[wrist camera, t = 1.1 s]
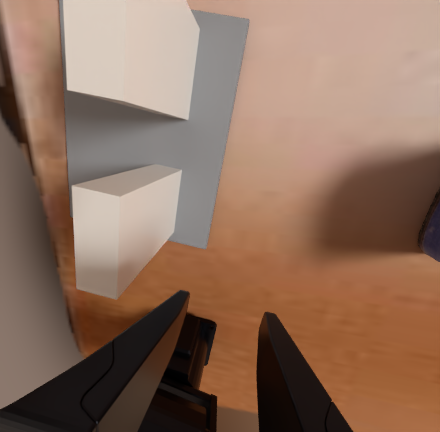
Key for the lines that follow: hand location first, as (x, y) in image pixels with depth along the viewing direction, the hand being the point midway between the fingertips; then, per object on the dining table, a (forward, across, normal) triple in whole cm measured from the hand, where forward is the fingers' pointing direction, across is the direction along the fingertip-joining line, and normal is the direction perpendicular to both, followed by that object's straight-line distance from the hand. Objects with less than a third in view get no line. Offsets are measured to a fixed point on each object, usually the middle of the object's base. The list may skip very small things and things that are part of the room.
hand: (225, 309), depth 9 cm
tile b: (+12, +7, -10) cm, 17 cm away
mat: (+12, +10, -5) cm, 16 cm away
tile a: (+12, +7, 0) cm, 13 cm away
